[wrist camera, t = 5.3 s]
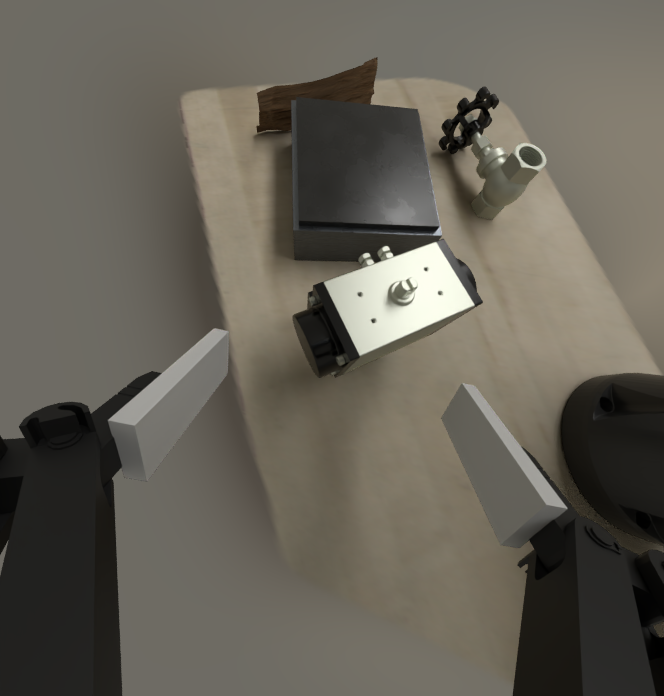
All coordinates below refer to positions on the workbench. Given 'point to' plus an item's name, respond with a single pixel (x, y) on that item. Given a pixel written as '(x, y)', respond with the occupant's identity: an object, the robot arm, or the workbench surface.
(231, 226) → the workbench surface
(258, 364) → the workbench surface
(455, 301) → the pneumatic valve
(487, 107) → the valve
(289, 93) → the wood plank
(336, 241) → the stand
